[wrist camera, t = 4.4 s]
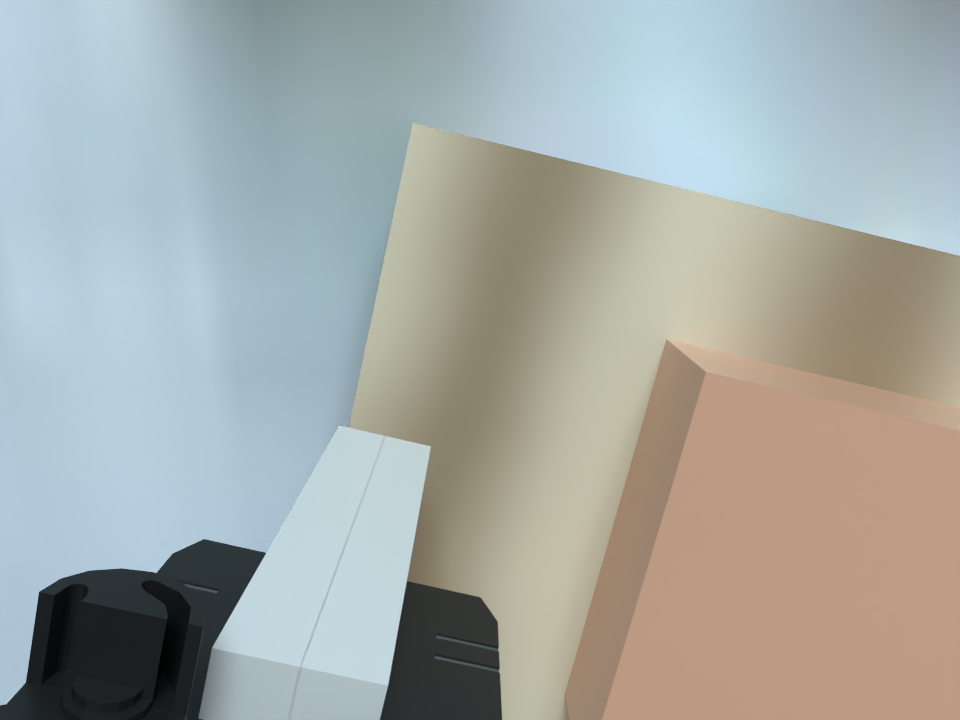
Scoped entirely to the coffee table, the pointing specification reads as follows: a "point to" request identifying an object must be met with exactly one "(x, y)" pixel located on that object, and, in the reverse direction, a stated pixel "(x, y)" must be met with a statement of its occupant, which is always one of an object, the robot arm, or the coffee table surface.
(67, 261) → the coffee table surface
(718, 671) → the terracotta tile
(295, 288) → the coffee table surface
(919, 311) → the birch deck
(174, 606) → the robot arm
